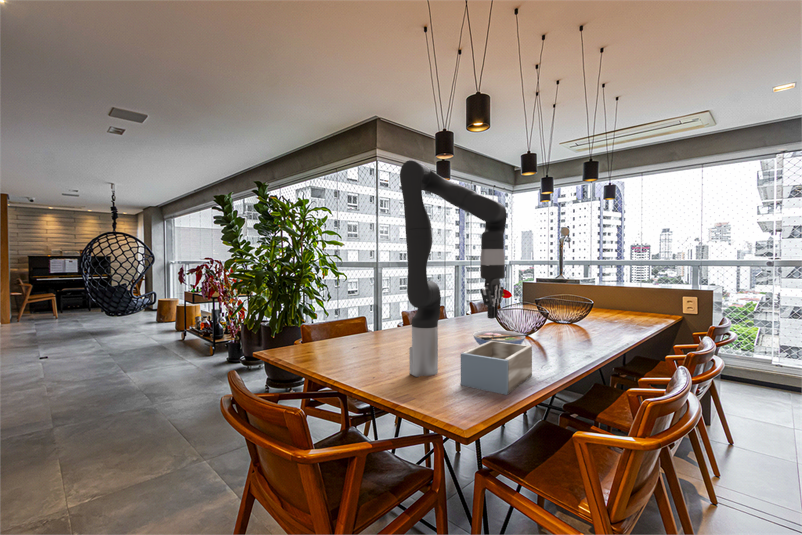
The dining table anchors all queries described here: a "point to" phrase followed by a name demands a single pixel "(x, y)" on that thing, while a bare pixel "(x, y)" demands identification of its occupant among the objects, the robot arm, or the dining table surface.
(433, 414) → the dining table surface
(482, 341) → the ramen bowl
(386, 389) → the dining table surface
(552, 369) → the dining table surface
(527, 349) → the crate
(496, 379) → the grey panel
